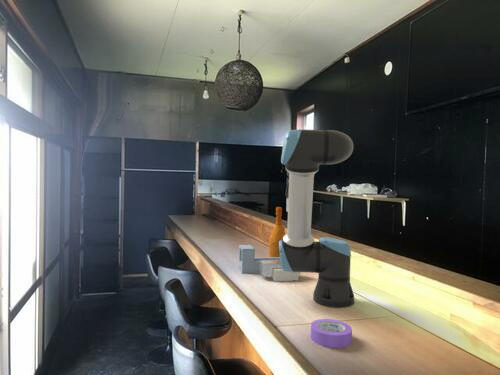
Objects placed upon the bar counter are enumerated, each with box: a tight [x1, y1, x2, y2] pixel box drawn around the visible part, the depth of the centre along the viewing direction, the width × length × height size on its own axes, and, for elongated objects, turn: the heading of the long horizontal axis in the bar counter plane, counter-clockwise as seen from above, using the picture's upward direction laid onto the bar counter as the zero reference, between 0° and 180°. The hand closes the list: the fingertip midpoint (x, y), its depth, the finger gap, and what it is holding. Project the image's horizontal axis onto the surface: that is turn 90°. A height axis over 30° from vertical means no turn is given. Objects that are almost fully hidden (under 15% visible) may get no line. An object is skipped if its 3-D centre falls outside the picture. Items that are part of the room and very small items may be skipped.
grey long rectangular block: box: [260, 260, 302, 277], centre depth 172 cm, size 18×6×6 cm, turn 100°
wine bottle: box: [268, 206, 286, 258], centre depth 202 cm, size 10×10×30 cm
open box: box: [238, 244, 280, 274], centre depth 185 cm, size 10×22×12 cm, turn 101°
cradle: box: [268, 269, 299, 282], centre depth 172 cm, size 11×11×5 cm
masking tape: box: [310, 318, 353, 349], centre depth 108 cm, size 12×12×4 cm
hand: (294, 213), depth 177 cm, fingers open, 13 cm apart
